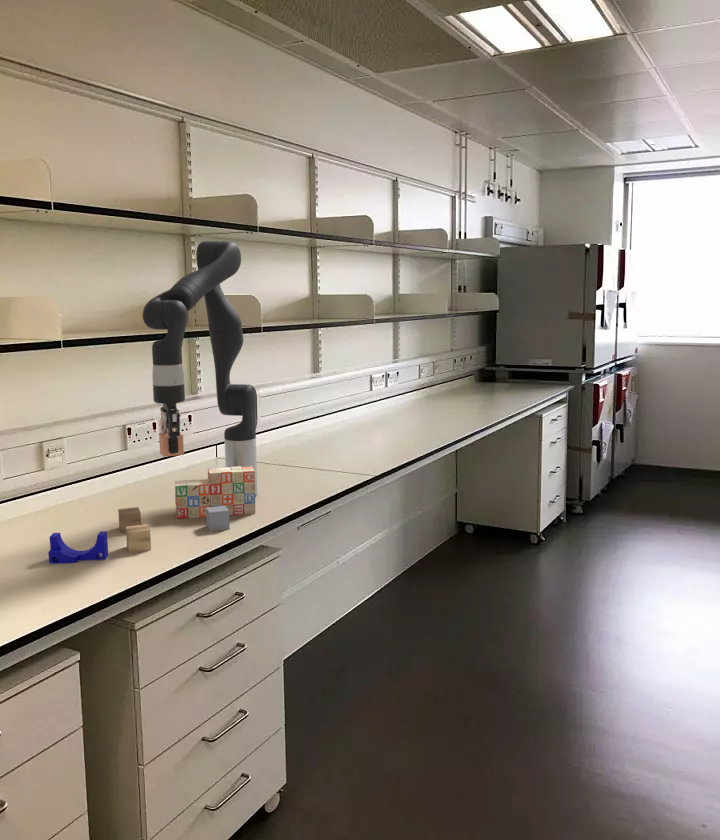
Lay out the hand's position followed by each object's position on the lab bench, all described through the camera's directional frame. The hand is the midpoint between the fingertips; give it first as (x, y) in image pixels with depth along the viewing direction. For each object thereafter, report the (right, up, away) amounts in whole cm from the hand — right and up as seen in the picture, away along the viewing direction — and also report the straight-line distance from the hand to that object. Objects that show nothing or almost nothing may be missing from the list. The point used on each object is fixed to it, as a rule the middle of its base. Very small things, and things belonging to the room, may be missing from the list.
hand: (171, 450), depth 197 cm
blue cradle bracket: (-18, -25, -15) cm, 34 cm away
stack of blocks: (+7, -18, +22) cm, 29 cm away
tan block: (-13, -21, +8) cm, 25 cm away
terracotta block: (0, -1, 0) cm, 1 cm away
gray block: (+10, -20, +8) cm, 24 cm away
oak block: (-6, -23, -8) cm, 25 cm away
